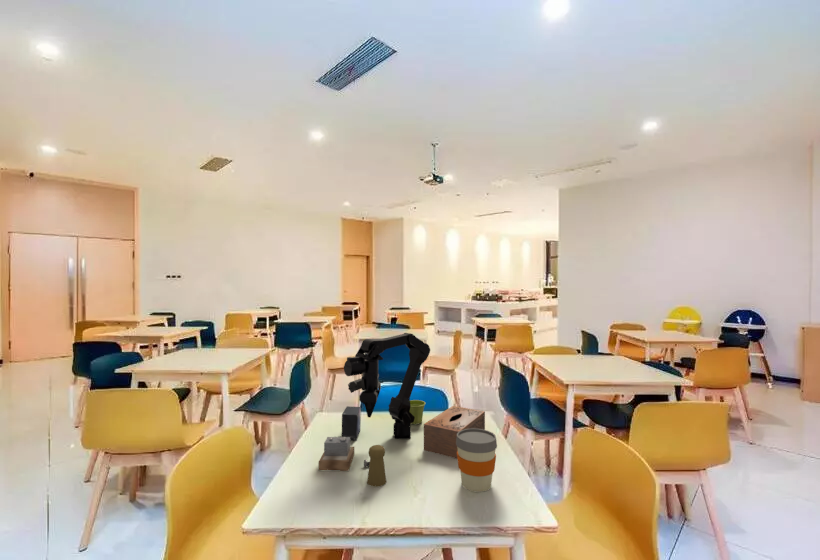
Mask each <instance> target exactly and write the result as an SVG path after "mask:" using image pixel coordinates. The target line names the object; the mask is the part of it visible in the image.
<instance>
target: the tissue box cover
mask: <svg viewBox="0 0 820 560" xmlns="http://www.w3.org/2000/svg"><path fill="white" fill-rule="evenodd" d="M473 428H474V429H483V430H486V411H483V410H478V409H473V408H468V407H467V408H466V407H462V406H456V405H452V406H450V407H449V408H447V409H446V410H443V411H442V412H440V413H439V414H438V415H436V416H434V417H433V418H432V419H429V420H428V421H427V422H425V423H423V451H426V452H429V453H434V454H436V455H441V456H446V457H448V458H453V459H457V451H458V448H457V445H456V438H457V433H458V432H459V431H461V430H464V429H473ZM457 460H458V459H457Z"/></svg>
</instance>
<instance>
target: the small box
mask: <svg viewBox="0 0 820 560" xmlns="http://www.w3.org/2000/svg"><path fill="white" fill-rule="evenodd" d="M361 409H362V408H361V406H348V405H347V406H346V407H345V409H343V412H342V414H341V436H340V437H350V441H354V442H355V441H357V440H358V438H359V435H360V433H361V427H362V425H361V421H362V420H361V419H362V418H361V417H362V416H361V415H362V412H361V411H362V410H361Z"/></svg>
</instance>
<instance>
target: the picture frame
mask: <svg viewBox="0 0 820 560" xmlns="http://www.w3.org/2000/svg"><path fill="white" fill-rule="evenodd" d="M354 456H355V446H350V451H349V454H348V456H324V452H323V453H322V455H321V456H320V458H319V460H318V471H319V470H340V471H339V472H344V471H345V472H347V471H348V472H349V471H350V468H351V467H352V464H353V460H354V458H355V457H354Z"/></svg>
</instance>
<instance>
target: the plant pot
mask: <svg viewBox="0 0 820 560" xmlns="http://www.w3.org/2000/svg"><path fill="white" fill-rule="evenodd" d="M410 405H411V407H410V413H411V414H412V415H413V416H414V417H415V418H414V422H413V423H411V424H410V425H418V424H422V423H423V416H424V410H425V409H424V408H425V405H426V402H425V401H423V400H421V399H420V400H419V399H413V400H411V399H410Z"/></svg>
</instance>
